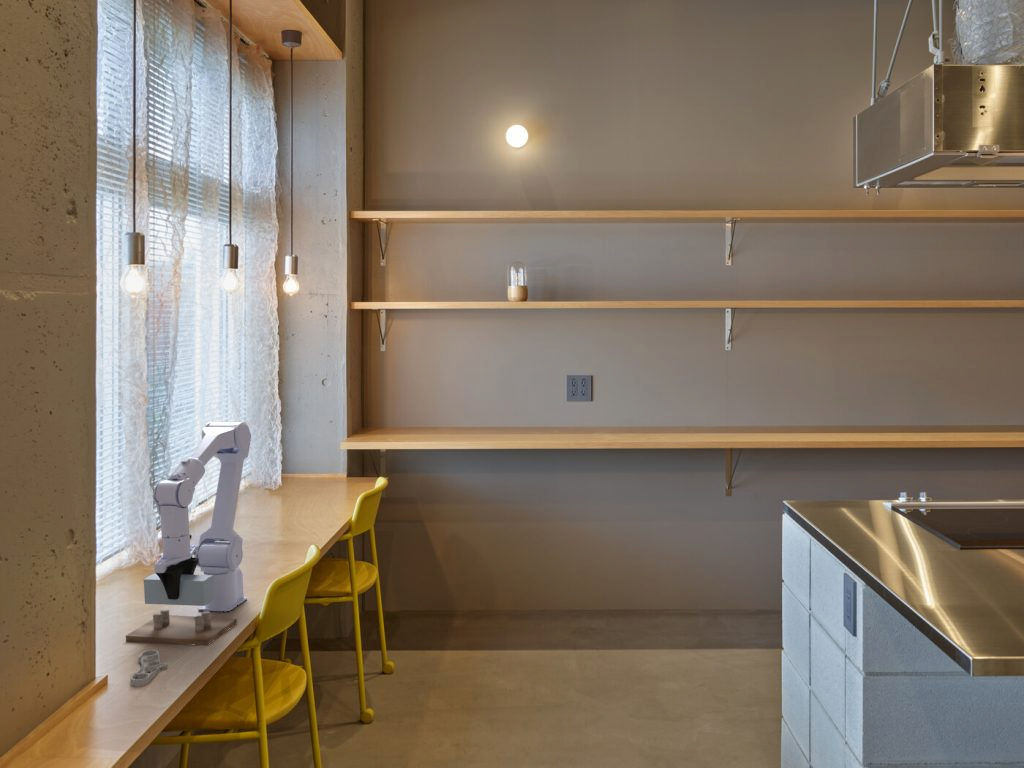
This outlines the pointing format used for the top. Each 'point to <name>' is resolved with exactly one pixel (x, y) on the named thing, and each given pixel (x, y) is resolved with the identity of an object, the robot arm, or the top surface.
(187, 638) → the peg stand
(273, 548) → the top surface
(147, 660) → the bracket
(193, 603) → the pale blue rectangular block
